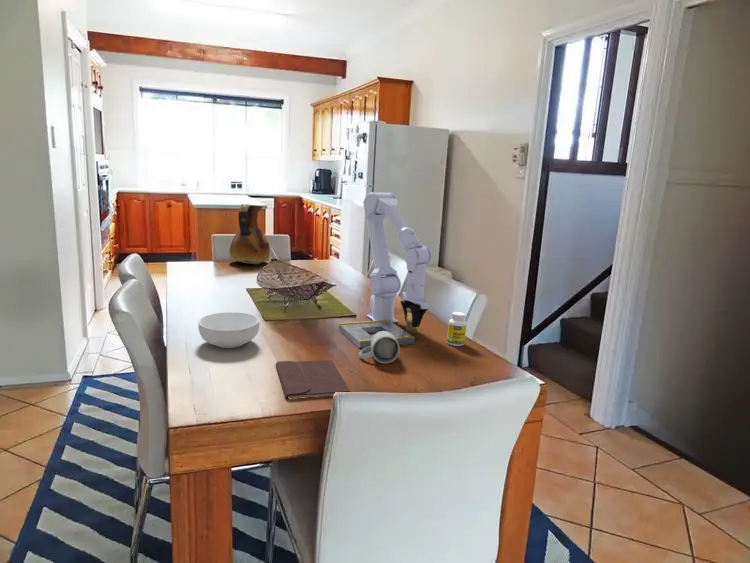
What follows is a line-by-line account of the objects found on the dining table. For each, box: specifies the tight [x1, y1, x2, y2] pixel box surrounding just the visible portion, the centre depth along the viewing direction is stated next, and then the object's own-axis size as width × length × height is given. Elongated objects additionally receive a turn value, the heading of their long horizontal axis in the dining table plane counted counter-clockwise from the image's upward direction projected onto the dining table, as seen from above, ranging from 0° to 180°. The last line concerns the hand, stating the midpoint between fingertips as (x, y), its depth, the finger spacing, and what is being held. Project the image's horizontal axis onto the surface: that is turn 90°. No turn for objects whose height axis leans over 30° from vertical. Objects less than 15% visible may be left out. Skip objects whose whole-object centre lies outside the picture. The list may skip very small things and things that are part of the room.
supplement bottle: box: [446, 311, 467, 347], centre depth 161 cm, size 5×5×10 cm
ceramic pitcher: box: [229, 203, 271, 265], centre depth 262 cm, size 20×20×30 cm
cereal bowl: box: [198, 311, 260, 349], centre depth 149 cm, size 17×17×7 cm
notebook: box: [275, 359, 351, 399], centre depth 128 cm, size 15×20×2 cm
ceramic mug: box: [358, 331, 401, 365], centre depth 145 cm, size 11×8×8 cm
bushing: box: [405, 306, 419, 335], centre depth 170 cm, size 5×5×8 cm
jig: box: [338, 320, 415, 350], centre depth 164 cm, size 18×18×2 cm
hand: (412, 324), depth 171 cm, fingers closed on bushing, 4 cm apart
